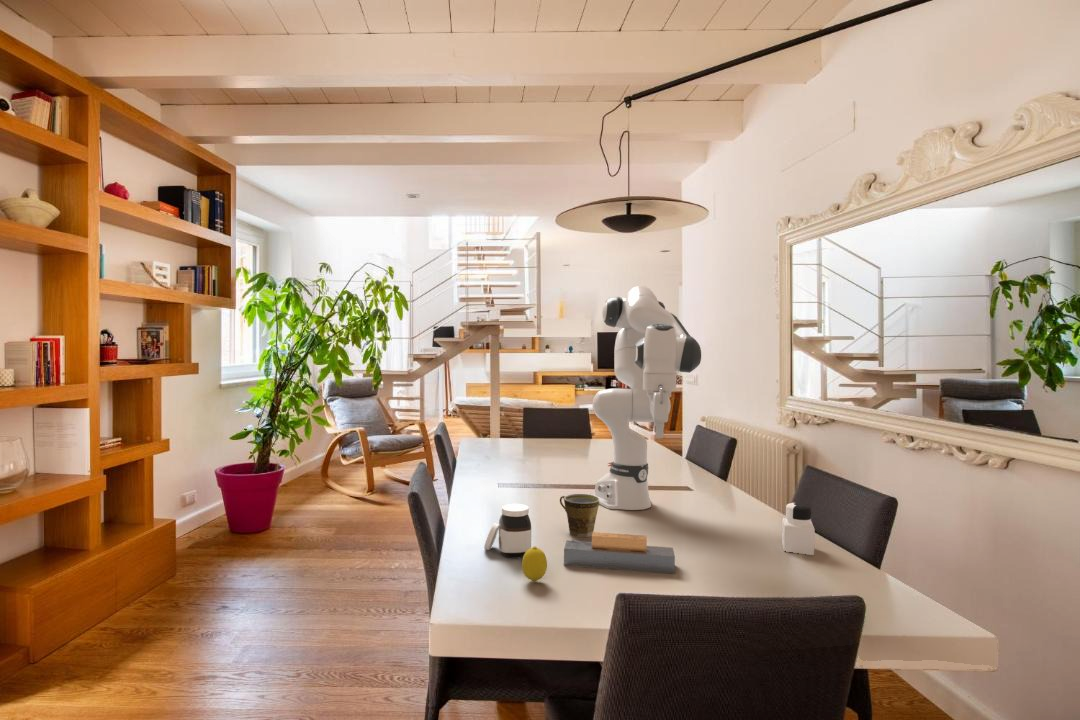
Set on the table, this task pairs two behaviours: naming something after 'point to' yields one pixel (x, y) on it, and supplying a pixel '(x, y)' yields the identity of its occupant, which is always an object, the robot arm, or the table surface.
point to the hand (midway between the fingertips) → (658, 435)
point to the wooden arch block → (619, 542)
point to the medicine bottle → (798, 529)
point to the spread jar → (512, 531)
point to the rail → (619, 558)
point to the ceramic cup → (581, 513)
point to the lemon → (534, 564)
